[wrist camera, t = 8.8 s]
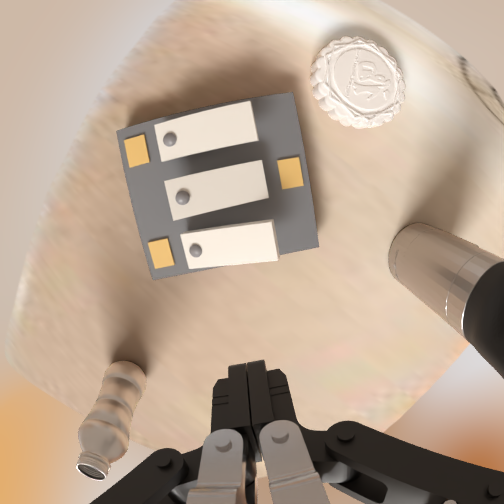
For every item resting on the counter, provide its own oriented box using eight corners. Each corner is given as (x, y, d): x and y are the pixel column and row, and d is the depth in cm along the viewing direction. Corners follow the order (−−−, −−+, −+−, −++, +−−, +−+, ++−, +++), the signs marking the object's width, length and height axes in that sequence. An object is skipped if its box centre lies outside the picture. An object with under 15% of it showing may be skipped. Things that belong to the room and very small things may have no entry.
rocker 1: (251, 102, 29) (249, 100, 27) (258, 140, 30) (257, 140, 28) (158, 125, 30) (153, 124, 29) (165, 161, 31) (160, 161, 30)
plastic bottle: (102, 357, 43) (53, 452, 23) (140, 352, 43) (100, 457, 23) (119, 388, 44) (82, 484, 25) (155, 385, 44) (128, 488, 25)
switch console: (288, 97, 34) (295, 89, 30) (312, 240, 39) (322, 250, 35) (124, 132, 34) (111, 129, 29) (158, 271, 39) (149, 284, 35)
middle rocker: (258, 160, 32) (262, 159, 31) (265, 196, 33) (269, 198, 32) (164, 181, 30) (164, 181, 29) (172, 219, 31) (173, 221, 30)
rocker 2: (273, 219, 32) (271, 222, 30) (280, 256, 33) (277, 261, 31) (184, 231, 34) (179, 235, 33) (193, 265, 36) (188, 269, 34)
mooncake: (383, 142, 36) (397, 142, 33) (298, 109, 35) (304, 104, 31) (402, 65, 33) (415, 59, 30) (321, 29, 32) (329, 19, 28)
